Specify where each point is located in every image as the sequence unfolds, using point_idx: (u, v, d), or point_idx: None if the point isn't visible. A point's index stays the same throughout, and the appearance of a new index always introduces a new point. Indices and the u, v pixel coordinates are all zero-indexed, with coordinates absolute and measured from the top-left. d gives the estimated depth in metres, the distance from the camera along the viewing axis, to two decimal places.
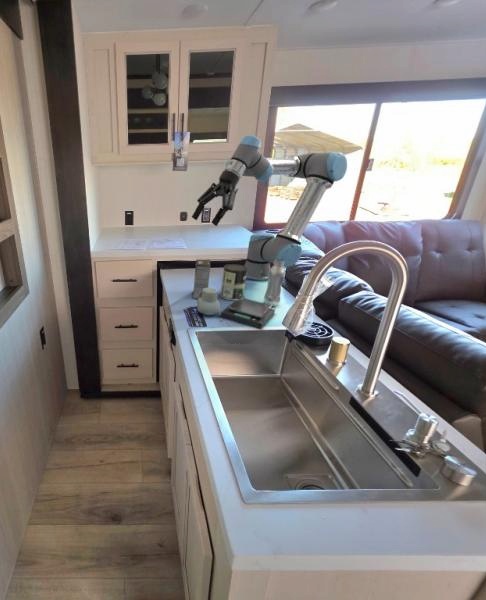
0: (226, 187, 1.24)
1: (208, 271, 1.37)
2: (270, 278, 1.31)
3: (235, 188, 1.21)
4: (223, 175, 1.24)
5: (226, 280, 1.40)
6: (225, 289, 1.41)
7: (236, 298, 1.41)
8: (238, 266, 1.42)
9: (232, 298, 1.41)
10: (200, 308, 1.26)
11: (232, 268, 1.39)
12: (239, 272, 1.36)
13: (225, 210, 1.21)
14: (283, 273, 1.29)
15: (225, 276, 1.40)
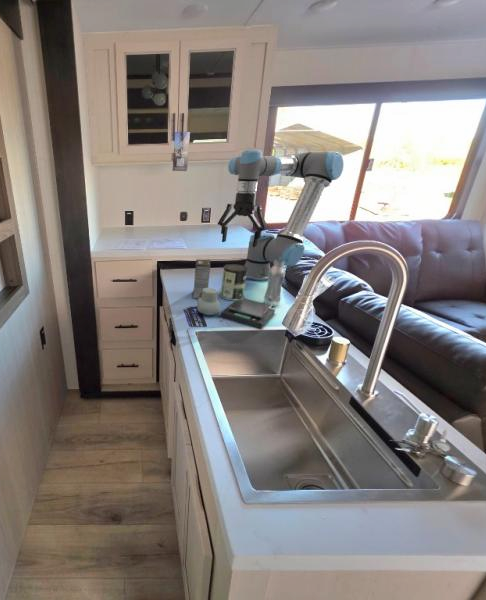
0: (249, 208, 1.27)
1: (208, 271, 1.37)
2: (270, 278, 1.31)
3: (260, 208, 1.25)
4: (242, 200, 1.25)
5: (226, 280, 1.40)
6: (225, 289, 1.41)
7: (236, 298, 1.41)
8: (238, 266, 1.42)
9: (232, 298, 1.41)
10: (200, 308, 1.26)
11: (232, 268, 1.39)
12: (239, 272, 1.36)
13: (260, 231, 1.28)
14: (283, 273, 1.29)
15: (225, 276, 1.40)
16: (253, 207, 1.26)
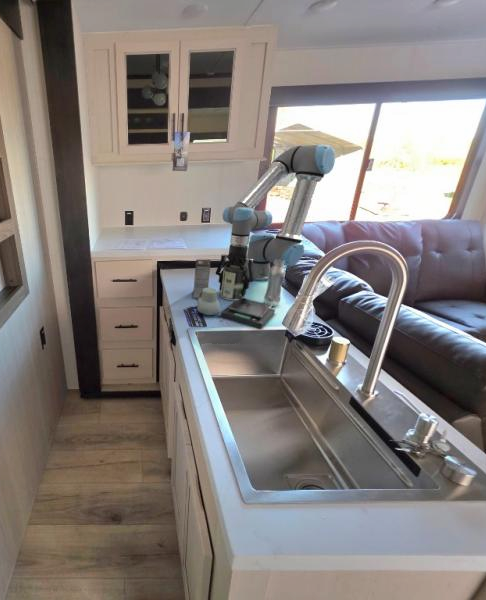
0: (242, 260, 1.36)
1: (208, 271, 1.37)
2: (270, 278, 1.31)
3: (252, 261, 1.34)
4: (235, 252, 1.34)
5: (226, 280, 1.40)
6: (225, 289, 1.41)
7: (236, 298, 1.41)
8: (238, 266, 1.42)
9: (232, 298, 1.41)
10: (200, 308, 1.26)
11: (232, 268, 1.39)
12: (239, 272, 1.36)
13: (249, 282, 1.38)
14: (283, 273, 1.29)
15: (225, 276, 1.40)
16: (245, 259, 1.35)
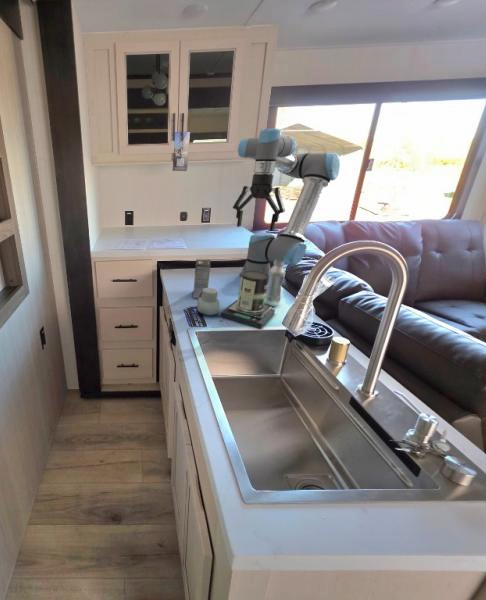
0: (267, 190, 1.23)
1: (208, 271, 1.37)
2: (270, 278, 1.31)
3: (278, 189, 1.21)
4: (260, 181, 1.21)
5: (245, 289, 1.21)
6: (243, 300, 1.23)
7: (256, 310, 1.22)
8: (258, 273, 1.23)
9: (251, 310, 1.23)
10: (200, 308, 1.26)
11: (251, 275, 1.21)
12: (260, 280, 1.17)
13: (278, 214, 1.24)
14: (283, 273, 1.29)
15: (243, 285, 1.22)
16: (271, 189, 1.22)
